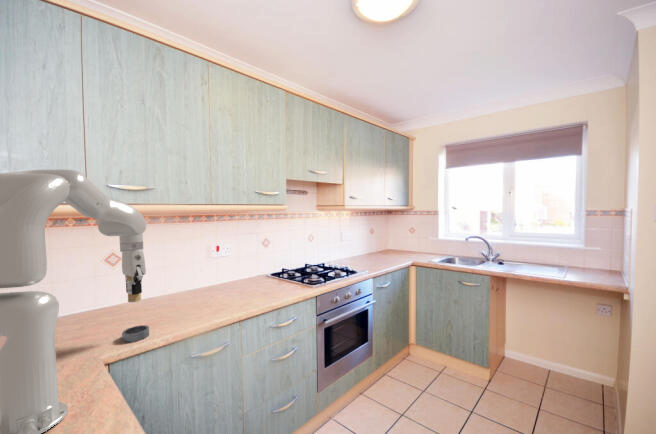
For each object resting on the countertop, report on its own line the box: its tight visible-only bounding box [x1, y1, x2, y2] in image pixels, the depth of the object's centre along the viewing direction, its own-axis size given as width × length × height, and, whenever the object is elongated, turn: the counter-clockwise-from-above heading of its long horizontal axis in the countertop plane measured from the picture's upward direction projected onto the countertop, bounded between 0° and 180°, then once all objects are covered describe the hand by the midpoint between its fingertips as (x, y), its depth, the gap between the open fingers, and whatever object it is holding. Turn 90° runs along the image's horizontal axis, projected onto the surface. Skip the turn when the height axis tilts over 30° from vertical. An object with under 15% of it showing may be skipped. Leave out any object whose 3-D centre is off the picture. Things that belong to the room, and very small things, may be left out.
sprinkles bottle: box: [126, 272, 142, 303], centre depth 111 cm, size 5×5×14 cm
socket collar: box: [121, 324, 150, 344], centre depth 112 cm, size 9×9×3 cm
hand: (134, 292), depth 112 cm, fingers closed on sprinkles bottle, 4 cm apart
